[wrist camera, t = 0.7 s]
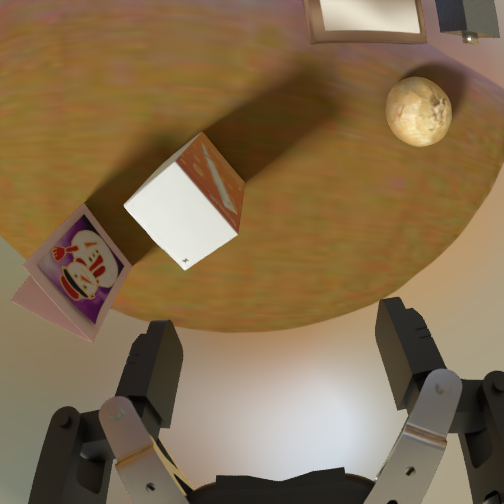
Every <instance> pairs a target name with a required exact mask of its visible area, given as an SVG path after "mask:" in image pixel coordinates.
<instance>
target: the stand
mask: <svg viewBox="0 0 504 504" xmlns="http://www.w3.org/2000/svg"><path fill="white" fill-rule="evenodd" d="M303 5H304V11H305V16H306V21H307V27H308V33H309V39H310V44H321V43H353V42H366V43H397V44H423V43H427V38H426V31H425V25H424V18H423V12H422V6H421V1H420V0H303Z"/></svg>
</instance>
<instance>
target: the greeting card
mask: <svg viewBox="0 0 504 504" xmlns="http://www.w3.org/2000/svg"><path fill="white" fill-rule="evenodd" d="M23 267H24V268H25V269H26V270H27V271H28V273H29V274H30V276H29V277H28V278H27V280H26V281H25V282H24V283H23V285H22V286H21V287H20V288H19V289H18V291H17V292H16V293H15V295H14V296H13V297H12V299H11V301H13V302H14V303H16V304H18V305H20V306H21V307H23V308H25V309H27V310H29V311H30V312H32V313H34V314H36V315H38V316H40V317H42V318H43V319H45V320H47V321H49V322H51V323H53V324H55V325H57V326H59V327H61V328H63V329H65V330H67V331H69V332H71V333H73V334H75V335H77V336H79V337H82V338H83V339H85V340H88V341H90V342H92V343H93V342H94V340H95V338H96V335H97V334H98V332H99V330H100V327H101V325H102V323H103V321H104V319H105V317H106V315H107V313H108V311H109V309H110V308H111V306H112V304H113V302H114V300H115V298H116V296H117V294H118V292H119V290H120V288H121V286H122V284H123V283H124V281H125V279H126V277H127V275H128V273H129V271H130V270H131V268H132V265H131V264H130V263H129V261H128V260H127V259H126V258H125V256H124V255H123V254H122V253H121V251H120V250H119V249H118V247H117V246H116V245H115V244H114V242H113V241H112V240H111V238H110V237H109V236H108V235H107V233H106V232H105V231H104V229H103V228H102V227H101V225H100V224H99V223H98V221H97V220H96V219H95V217H94V216H93V215H92V213H91V212H90V210H89V209H88V208H87V206H86V205H85V203H83V204H82V205H81V206H80V207H79V208H78V209H77V210H76V211H75V212H74V213H73V214H72V215H71V216H69V217H68V218H67V219H66V220H65V221H64V222H63V223H62V224H61V225H60V226H59V227H58V228H57V229H56V230H55V231H54V232H53V233H52V234H51V235H50V236H49V237H48V238H47V239H46V240H45V242H44V243H43V244H42V245H41V246H40V247H39V248H38V249H37V250H36V251H35V252H34V253H33V254H32V255H31V256H30V258H29V259H28V260H27V261H26V262H25V263H24V264H23Z"/></svg>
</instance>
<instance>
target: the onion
mask: <svg viewBox="0 0 504 504" xmlns="http://www.w3.org/2000/svg"><path fill="white" fill-rule="evenodd" d="M386 117H387V121H388V124H389V126H390V128H391V130H392V131H393V133H394V134H395V135H396V136H397V137H398V138H399V139H400V140H402V141H403V142H405V143H407V144H409V145H413V146H428V145H431V144H434V143H436V142H438V141H439V140H441V139H442V138H443V137H444V136H445V134H446V133H447V131H448V129H449V126H450V124H451V120H452V109H451V103H450V101H449V99H448V97H447V95H446V94H445V93H444V92H443V90H442V89H441V88H440V87H439V86H437V85H436V84H435V83H434V82H432V81H430V80H428V79H426V78H423V77H409V78H405V79H403V80H401V81H399V82H398V83H397V84H396V85H395V86H394V87H393V88H392V89H391V90H390V92H389V94H388V97H387V101H386Z"/></svg>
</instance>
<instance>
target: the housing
mask: <svg viewBox="0 0 504 504" xmlns="http://www.w3.org/2000/svg"><path fill="white" fill-rule="evenodd" d="M435 3H436V8H437V14H438V19H439V26H440V32H442V33H448V34H454V35H460V36H462V38H463V43H465V44H472V45H479V44H478V38H480V37H481V38H482V37H483V38H500V35H499V28H498V21H497V15H496V9H495V4H494V0H435Z"/></svg>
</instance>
